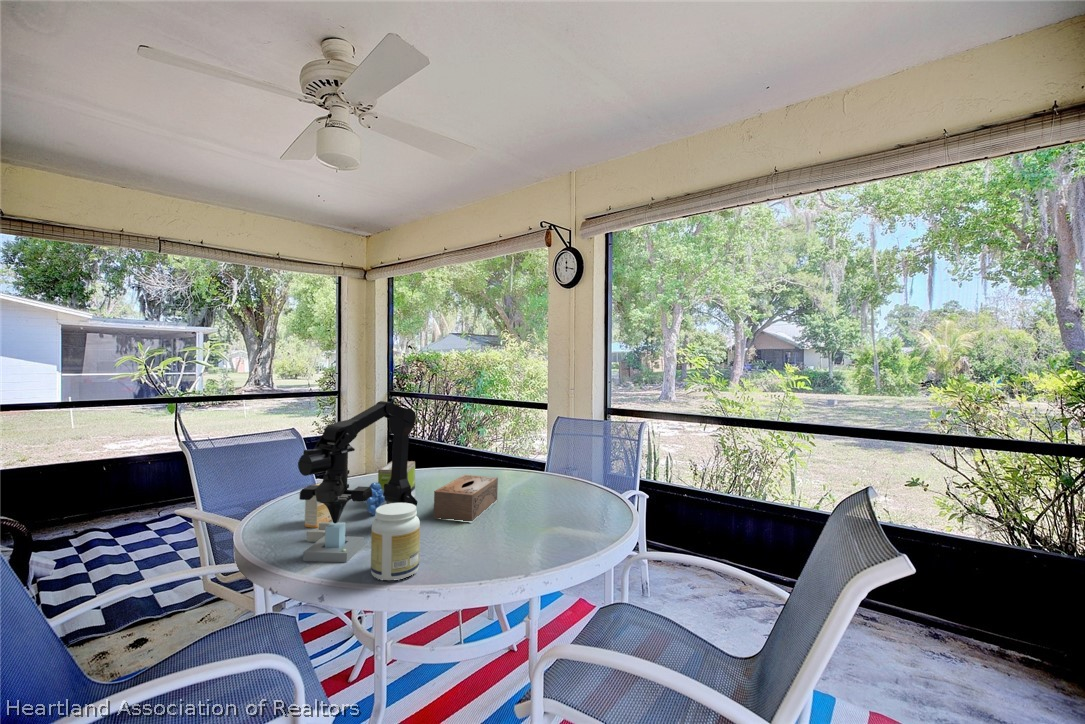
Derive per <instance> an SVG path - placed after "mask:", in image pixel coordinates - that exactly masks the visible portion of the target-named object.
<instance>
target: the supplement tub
mask: <svg viewBox="0 0 1085 724" xmlns="http://www.w3.org/2000/svg"><path fill="white" fill-rule="evenodd" d="M417 514H418V512H417V506H415V505H414V504H410V503H390V504H385V505H382V506H380V507H378V508H377V509H376V514H375V515H374V517H375V519H373V521H372V523H371V534H370V535H371V536H370V537H371V539H370V540H371V541H370V544H371V545H370V573H371V575H372V577H374V578H375V577H376V578H378V579H377V580H379V579H383V580H394V579H401V578H405V577H408V576H411V575H412V576H414V575H415V574H416V573H417V572H418V571H419V567H420V543H421V542H420V538H421V537H420V536H421V534H420V533H421V531H420V529H421V525H420V524H421V521H420V519H419V517H418V516H417ZM414 573H415V574H414ZM413 574H414V575H413ZM412 576H411V577H412ZM376 578H375V579H376ZM383 580H382V581H383Z"/></svg>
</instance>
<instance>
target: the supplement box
mask: <svg viewBox="0 0 1085 724" xmlns="http://www.w3.org/2000/svg"><path fill="white" fill-rule="evenodd" d="M321 483H322V481H321V482H318V483H315V484H314V485H320V484H321ZM304 502H305V503H304V504H305V505H304V506H305V507H304V527H306V528H313V529H317V528H319V523H320V522H332V521H333V520H332V518H331V515H330V513H329V510H328V508H327V506H326V505H325V504H323V503H320V502H317V500H316V496H313V497H312V498H311V499H310V500H304Z"/></svg>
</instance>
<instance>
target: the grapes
mask: <svg viewBox="0 0 1085 724" xmlns="http://www.w3.org/2000/svg"><path fill="white" fill-rule="evenodd" d="M368 487H370V488H371V489H372V496H371V497H370V498H368V499H367V500H366V501H364V502H365V504H366V505H367V506H366V510H367V512H368V513H369V514H370V515H372V516H375V514H376V509H377V508H378V507H380V505H381V503H384V502H385V499H384V496H383V495H382V494H383V493H384V492H383V490H382V489H381V485H380V484H379V483H378V482H374V481H373V482H372V483H371V484H370V485H369V486H368Z"/></svg>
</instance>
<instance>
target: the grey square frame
mask: <svg viewBox="0 0 1085 724" xmlns="http://www.w3.org/2000/svg"><path fill="white" fill-rule="evenodd" d="M331 523H333V521H329V522H320V523H319V527H318V529H309V530H307V531H306V542H309V543H313V542H314V543H316V542H317V541H318V540H319V539H321V538H322V537H323V536H325V527H327V526H328V525H329V524H331ZM338 523H345V533H346V532H347V522H345V521H338Z"/></svg>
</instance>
